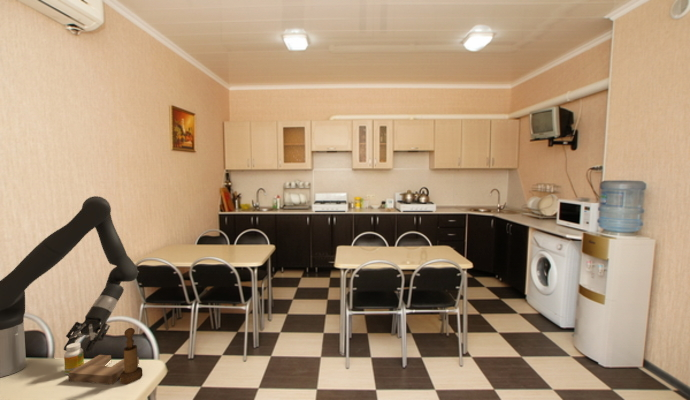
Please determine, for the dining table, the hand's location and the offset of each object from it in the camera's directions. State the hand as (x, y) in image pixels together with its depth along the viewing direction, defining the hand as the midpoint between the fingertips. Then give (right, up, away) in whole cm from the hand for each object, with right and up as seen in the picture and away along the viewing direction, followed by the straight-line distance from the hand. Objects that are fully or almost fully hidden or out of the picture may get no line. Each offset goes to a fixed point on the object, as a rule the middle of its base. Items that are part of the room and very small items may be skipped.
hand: (75, 351), depth 117 cm
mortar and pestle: (+25, -7, -6) cm, 27 cm away
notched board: (+13, -7, -2) cm, 15 cm away
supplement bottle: (0, -7, -1) cm, 7 cm away
